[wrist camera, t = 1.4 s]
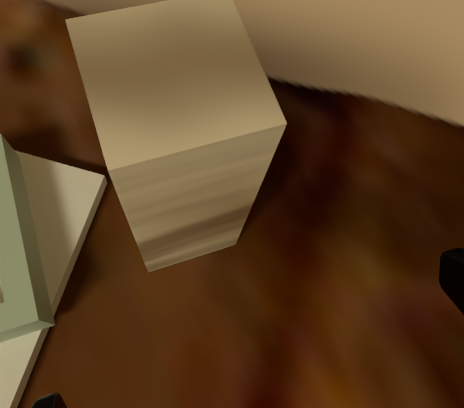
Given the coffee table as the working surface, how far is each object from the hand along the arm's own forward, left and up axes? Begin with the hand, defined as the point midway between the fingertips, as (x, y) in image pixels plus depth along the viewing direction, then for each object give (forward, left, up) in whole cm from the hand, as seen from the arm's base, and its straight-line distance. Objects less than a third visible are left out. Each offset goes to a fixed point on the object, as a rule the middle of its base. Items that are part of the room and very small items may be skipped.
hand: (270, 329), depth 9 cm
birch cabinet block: (+6, +4, -14) cm, 16 cm away
